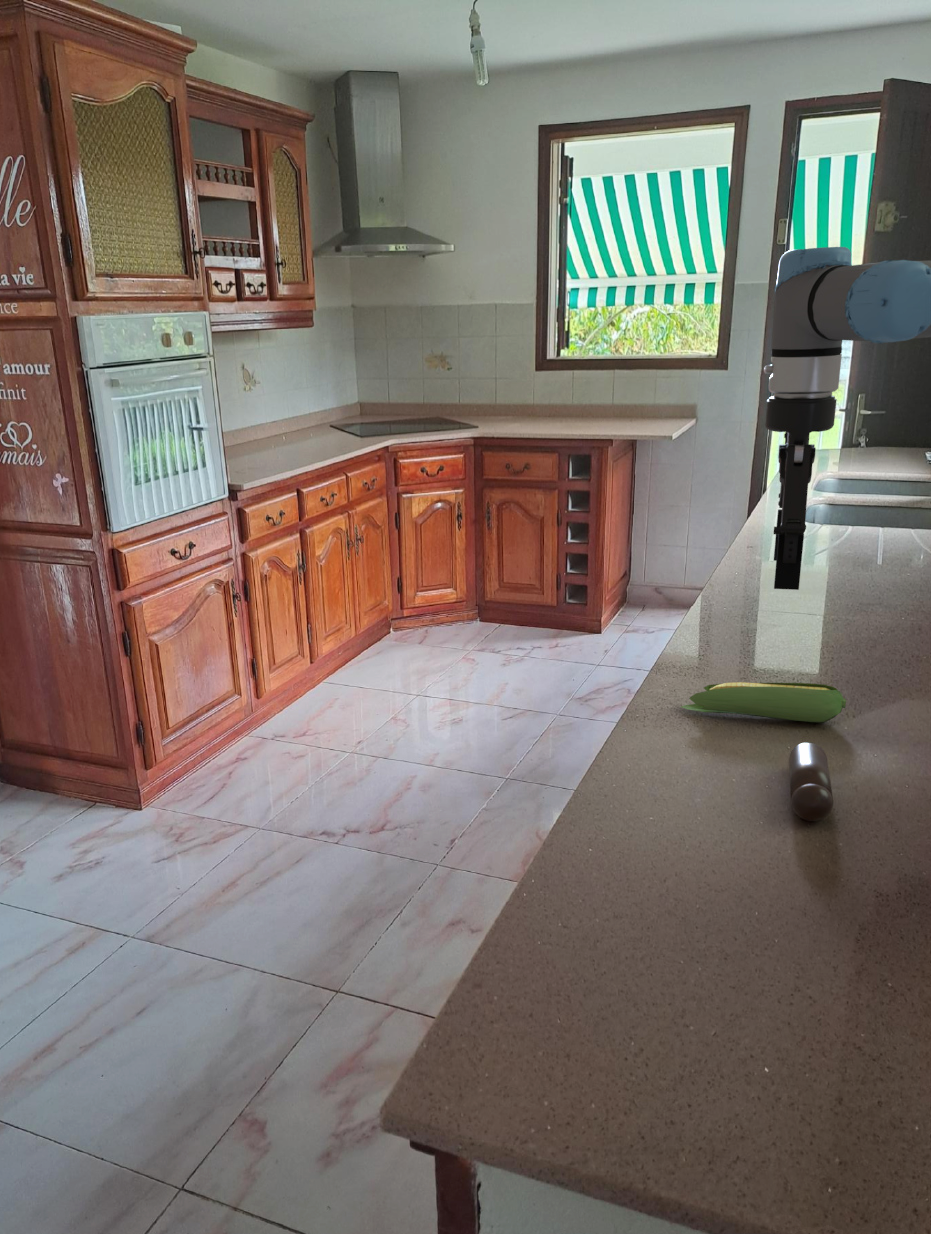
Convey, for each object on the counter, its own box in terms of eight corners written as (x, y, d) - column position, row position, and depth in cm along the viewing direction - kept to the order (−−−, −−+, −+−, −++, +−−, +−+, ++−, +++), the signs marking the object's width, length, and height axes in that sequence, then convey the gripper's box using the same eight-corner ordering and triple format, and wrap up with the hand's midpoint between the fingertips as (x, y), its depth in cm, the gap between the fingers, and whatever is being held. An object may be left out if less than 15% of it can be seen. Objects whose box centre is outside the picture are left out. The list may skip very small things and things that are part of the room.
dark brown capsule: (786, 767, 111) (789, 735, 109) (824, 770, 110) (827, 738, 108) (790, 826, 98) (793, 790, 97) (832, 830, 97) (836, 794, 96)
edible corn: (844, 730, 120) (848, 696, 118) (677, 717, 126) (679, 684, 124) (842, 714, 124) (845, 681, 123) (681, 702, 130) (682, 671, 129)
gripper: (767, 386, 124) (754, 549, 131) (767, 406, 102) (751, 600, 109) (831, 384, 121) (814, 550, 129) (844, 404, 99) (823, 603, 107)
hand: (785, 574), depth 119 cm, fingers open, 13 cm apart
